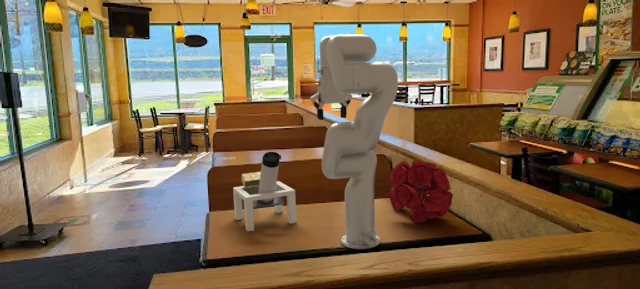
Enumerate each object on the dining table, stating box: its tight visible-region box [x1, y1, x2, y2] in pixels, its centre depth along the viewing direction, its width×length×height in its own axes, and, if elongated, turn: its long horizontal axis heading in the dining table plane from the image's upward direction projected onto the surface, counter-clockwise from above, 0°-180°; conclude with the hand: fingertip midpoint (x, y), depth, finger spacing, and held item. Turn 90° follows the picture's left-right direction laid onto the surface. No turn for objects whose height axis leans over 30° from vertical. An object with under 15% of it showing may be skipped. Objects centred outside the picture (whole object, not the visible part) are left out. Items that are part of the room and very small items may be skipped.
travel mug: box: [258, 151, 282, 203], centre depth 163 cm, size 6×7×20 cm
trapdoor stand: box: [232, 180, 298, 232], centre depth 170 cm, size 18×19×12 cm
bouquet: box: [388, 159, 454, 223], centre depth 167 cm, size 22×24×30 cm
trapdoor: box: [241, 171, 285, 210], centre depth 171 cm, size 16×13×4 cm
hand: (332, 118), depth 167 cm, fingers open, 9 cm apart
